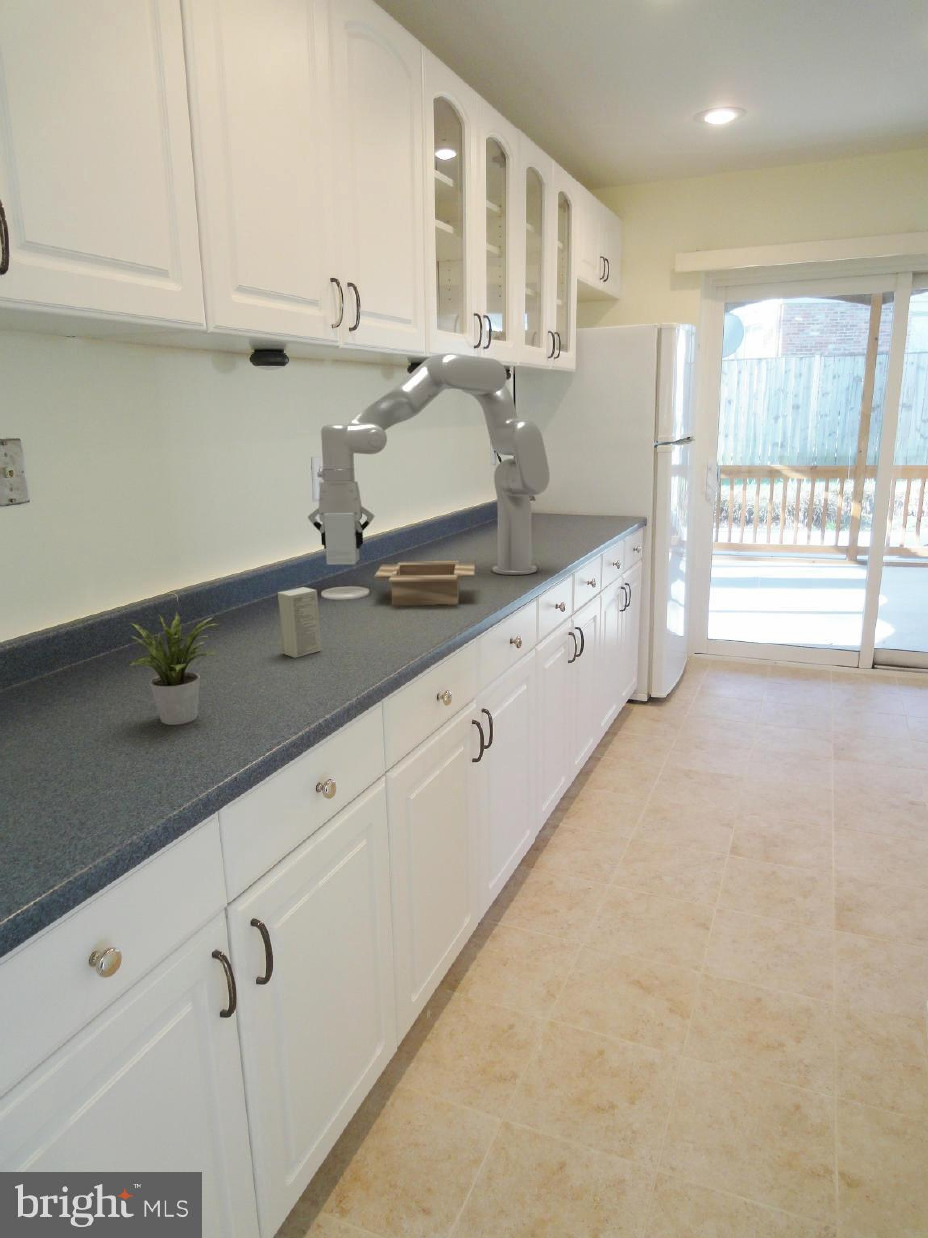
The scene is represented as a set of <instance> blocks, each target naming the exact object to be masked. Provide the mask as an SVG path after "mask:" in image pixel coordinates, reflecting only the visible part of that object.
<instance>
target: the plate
mask: <svg viewBox="0 0 928 1238" xmlns="http://www.w3.org/2000/svg"><path fill="white" fill-rule="evenodd" d="M320 594H321V597H322V598H324V599H326V600H327V599H328V600H337V601H338V600H342V601H343V600H354V599H359V598H360V599H361V598H364V597H368V596H369V595H370V589H369V588H368V587H364V586H363V587H362V586H354V585H353V586H351V585H349V586H337V587H331V588H327V589H324V590H321V592H320Z"/></svg>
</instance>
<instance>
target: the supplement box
mask: <svg viewBox="0 0 928 1238" xmlns="http://www.w3.org/2000/svg"><path fill="white" fill-rule="evenodd" d="M324 520H325V539H326V549H325V553H326V554H325V555H326V556H325V557H326V565H333V566H334V565H337V566H338V565H356V564H357V562H358V561H359V560H360V549H357V548H356V533H357V529H356V524H355V523H354V513H328V514H324Z"/></svg>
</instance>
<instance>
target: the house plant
mask: <svg viewBox="0 0 928 1238" xmlns="http://www.w3.org/2000/svg"><path fill="white" fill-rule="evenodd" d="M158 616H159V619H160V621H161V623H162V627H163V631H164V634H165V638H166V643H167V648H168V649H167V650H168V652H167V650H166V647H165V645H164V642H163V639H162V637H161V634H159V633H158V635H157V642H156V640H155V638H154V637H153V636H152V634H151V633H150V632H149V631H147V630H146V629H144V628H142V627H141V626H139V625H138V624H135V623H132V622H131V623H130V624H131V625H132V626H134V627H135V628H136V629H137V631H138V632H139V633H140V635H142V637H143V638H144V640H145V642H146V643H147V644H146V643H145V642H144V641H142V640H141V639H140V638H137V637H136V636H133V635H131V634H129V636H130V638H131V637H132V638H133V639H134V640H136V641H137V642H139V643H140V645H142V647H144V648H145V649H147V650H148V651H149V656H150V657H142V658H139V659H138V660H135V661H133V662H132V663H130V666H134V665H135V666H136V665H148V666H149V667H151V668H152V669H153V670H154V671H155V672H156V673H157V675H158V676H155V677H153V678H152V679H150V681H149V685H150V688H151V692H152V694H153V698H154V702H155V704H156V708H157V712H158V715H159V718H160V722H161V723H162V724H165V725H169V726H170V725H171V726H172V725H173V726H174V725H175V726H176V725H183V724H187V723H191V722H193V721H194V720H196V719H197V717H198V709H199V699H200V698H199V695H200V684H201V683H200V681H201V677H200V674H198V673H195V672H192V670H190V671H186V670H187V668H188V665H189V664H191V662H192V661H194V659H197V658H200V657H202V658H201V660H200V661H199V662H198V663H196V665H195V666H197V665H198V664H199V663H201V661H202V660H203V659H204V658H206V657H212V658H214V659H216V657H215V656H213V655H212V654H218V653H219V652H215V651H214V652H213V651H212V652H210V653H204V651H203V650H200V649H198V648H199V647H200V645H202V644H204V643H206V640H204V641H202V642H199V643H197V644H195V642H197V641H198V640H199V639H202V638H205V637H206V638H207V637H209V635H201V636H199V637H198V638H197V636H198V635H199V633H200V632H202V630H204V629H206V628H207V627H211V626H218V625H219V623H211V624H206V623H207V622H208V621H210V620H212V619H213V618H214V616H212V617H209V618H207V619H205V620H203V621H201V622H200V623H198V624H197V625H196V627H194V629H192V631H190V633H188V634H187V635H185V636H183V637H181V633H182V626H181V621H180V620H181V619H180V615H179V613H178V612H177V611H176V612H175V618H174V620H173V621H172V622H171V626H170V629H169V627H168V625H167V624H166V622H165V619H164V618H163V617H162V616H161V615H160V614H158ZM205 624H206V625H205ZM184 640H185V642H184V644H183V645H182V647H180V645H181V642H183V641H184ZM193 644H195V645H194V646H193ZM192 646H193V647H192ZM200 652H203V653H200ZM199 653H200V654H199Z"/></svg>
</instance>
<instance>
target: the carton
mask: <svg viewBox="0 0 928 1238" xmlns="http://www.w3.org/2000/svg"><path fill="white" fill-rule="evenodd" d="M475 566H476V565H475V562H474V563H470V562H469V563H460V561H459V560H435V561H433V560H432V561H431V560H430V561H428V560H427V561H425V560H424V561H421V560H420V561H399V562H398V563H397V564H381V565H380V567H379V568H378V570H377V571H376V573H375V574H374V576H373V579H378V580H379V579H380V580H381V579H388V582H389V583H391V584H390V585H391V586H390V589H391V606H429V605H432V606H433V605H434V606H437V605H436V604H448V605H459V597H460V578H475V568H476V567H475Z"/></svg>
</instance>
